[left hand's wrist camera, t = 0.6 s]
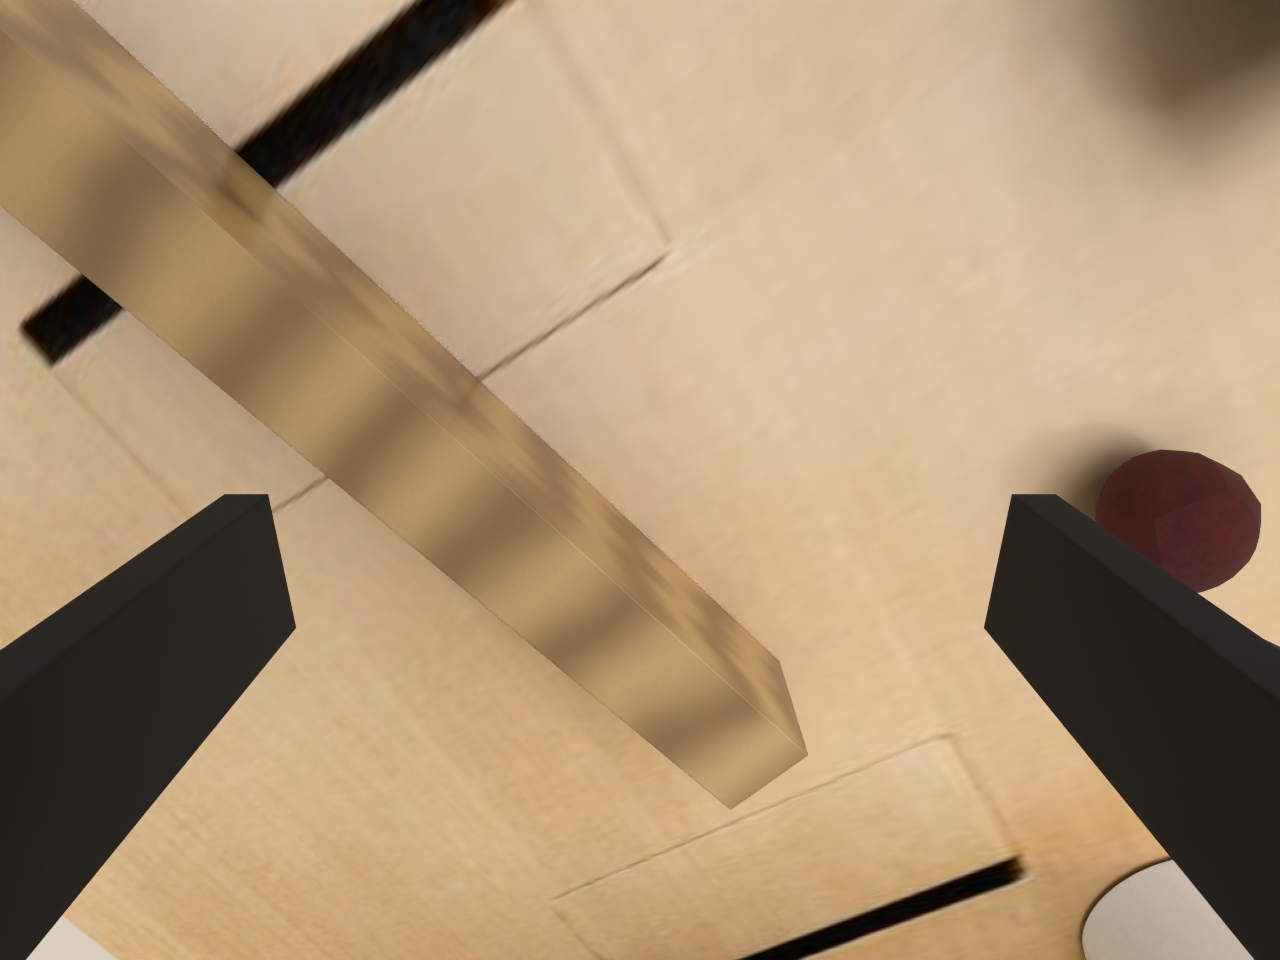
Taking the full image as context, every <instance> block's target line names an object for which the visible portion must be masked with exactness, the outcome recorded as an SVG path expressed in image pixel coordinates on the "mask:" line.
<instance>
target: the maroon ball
mask: <svg viewBox="0 0 1280 960" xmlns="http://www.w3.org/2000/svg"><path fill="white" fill-rule="evenodd" d="M1095 522H1096V523H1097V524H1099V525H1100V526H1102V527H1103V528H1104V529H1106V530H1107V531H1109V532H1110V533H1112V534H1113V535H1115V536H1116V537H1117V538H1119V539H1120V540H1122V541H1123V542H1125V543H1126V544H1127V545H1129V546H1130V547H1132V548H1133V549H1135V550H1136V551H1138V552H1139V553H1140V554H1142V555H1143V556H1145V557H1146V558H1148V559H1149V560H1150V561H1152V562H1153V563H1155V564H1156V565H1158V566H1159V567H1161V568H1162V569H1163V570H1165V571H1166V572H1168V573H1169V574H1171V575H1172V576H1173V577H1175V578H1176V579H1178V580H1179V581H1181V582H1182V583H1183V584H1185V585H1186V586H1188V587H1189V588H1191V589H1192V590H1194V591H1195V592H1196V593H1199V592H1203V591H1206V590H1209V589H1212V588H1214V587H1217V586H1219V585H1221V584H1223V583H1224V582H1226V581H1228V580H1229V579H1231V578H1233V577H1234V576H1235V575H1236V574H1237V573H1238V572H1239V571H1240V570H1241V569H1242V568H1243V567H1244V566H1245V565H1246V564H1247V563H1248V562H1249V560H1250V559H1251V557H1252V555H1253V553H1254V551H1255V550H1256V546H1257V543H1258V539H1259V534H1260V526H1261V504H1260V502H1259V501H1258V499H1257V498H1256V496H1255V495H1254V493H1253V492H1252V490H1251V489H1250V487H1249V486H1248V484H1247V483H1246V482H1245V480H1244V479H1243V477H1242V476H1241V475H1240V474H1238V473H1236V472H1234V471H1233V470H1231V469H1229V468H1227V467H1226V466H1224V465H1222V464H1220V463H1218V462H1216V461H1214V460H1212V459H1210V458H1207V457H1205V456H1203V455H1201V454H1199V453H1193V452H1187V451H1173V450H1157V451H1152V452H1149V453H1145V454H1142V455H1139V456H1136V457H1133V458H1131V459H1130V460H1128V461H1127V462H1125V463H1124V464H1123V465H1121V466H1120V467H1118V468H1117V469H1116V470H1115V472H1114V473H1113V474H1112V476H1111V477H1110V478H1109V479H1108V481H1107V482H1106V483H1105V486H1104V488H1103V491H1102V493H1101V495H1100V498H1099V500H1098V503H1097V507H1096V519H1095Z"/></svg>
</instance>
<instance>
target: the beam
mask: <svg viewBox="0 0 1280 960" xmlns="http://www.w3.org/2000/svg"><path fill="white" fill-rule="evenodd" d="M0 206H1V207H2V208H4V209H5V210H6V211H7V212H8V213H10V214H11V215H12V216H13V217H14V218H16V219H17V220H18V221H19V222H21V223H22V224H23V225H24V226H25V227H27V228H28V229H29V230H30V231H31V232H33V233H34V234H35V235H36V236H37V237H39V238H40V239H41V240H42V241H43V242H45V243H46V244H47V245H48V246H50V247H51V248H52V249H53V250H54V251H56V252H57V253H58V254H59V255H60V256H62V257H63V258H64V259H65V260H66V261H68V262H69V263H70V264H71V265H72V266H74V267H75V268H76V269H77V270H79V271H80V272H81V273H82V274H83V275H85V276H86V277H87V278H88V279H89V280H91V281H92V282H93V283H94V284H95V285H97V286H98V287H99V288H100V289H102V290H103V291H104V292H105V293H106V294H108V295H109V296H110V297H111V298H112V299H114V300H115V301H116V302H117V303H118V304H120V305H121V306H122V307H123V308H124V309H126V310H127V311H128V312H129V313H131V314H132V315H133V316H134V317H135V318H137V319H138V320H139V321H140V322H141V323H143V324H144V325H145V326H146V327H147V328H149V329H150V330H151V331H152V332H153V333H155V334H156V335H157V336H158V337H160V338H161V339H162V340H163V341H164V342H166V343H167V344H168V345H169V346H170V347H172V348H173V349H174V350H175V351H176V352H178V353H179V354H180V355H181V356H183V357H184V358H185V359H186V360H187V361H189V362H190V363H191V364H192V365H193V366H195V367H196V368H197V369H198V370H199V371H201V372H202V373H203V374H204V375H205V376H207V377H208V378H209V379H210V380H212V381H213V382H214V383H215V384H216V385H218V386H219V387H220V388H221V389H222V390H224V391H225V392H226V393H227V394H228V395H230V396H231V397H232V398H233V399H234V400H236V401H237V402H238V403H239V404H241V405H242V406H243V407H244V408H245V409H247V410H248V411H249V412H250V413H251V414H253V415H254V416H255V417H256V418H257V419H259V420H260V421H261V422H262V423H264V424H265V425H266V426H267V427H268V428H270V429H271V430H272V431H273V432H274V433H276V434H277V435H278V436H279V437H280V438H282V439H283V440H284V441H285V442H286V443H288V444H289V445H290V446H291V447H293V448H294V449H295V450H296V451H297V452H299V453H300V454H301V455H302V456H303V457H305V458H306V459H307V460H308V461H309V462H311V463H312V464H313V465H314V466H316V467H317V468H318V469H319V470H320V471H322V472H323V473H324V474H325V475H326V476H328V477H329V478H330V479H331V480H332V481H334V482H335V483H336V484H337V485H338V486H340V487H341V488H342V489H343V490H345V491H346V492H347V493H348V494H349V495H351V496H352V497H353V498H354V499H355V500H357V501H358V502H359V503H360V504H361V505H363V506H364V507H365V508H366V509H367V510H369V511H370V512H371V513H372V514H374V515H375V516H376V517H377V518H378V519H380V520H381V521H382V522H383V523H384V524H386V525H387V526H388V527H389V528H390V529H392V530H393V531H394V532H395V533H397V534H398V535H399V536H400V537H401V538H403V539H404V540H405V541H406V542H407V543H409V544H410V545H411V546H412V547H413V548H415V549H416V550H417V551H418V552H419V553H421V554H422V555H423V556H424V557H426V558H427V559H428V560H429V561H430V562H432V563H433V564H434V565H435V566H436V567H438V568H439V569H440V570H441V571H442V572H444V573H445V574H446V575H447V576H448V577H450V578H451V579H452V580H453V581H455V582H456V583H457V584H458V585H459V586H461V587H462V588H463V589H464V590H465V591H467V592H468V593H469V594H470V595H471V596H473V597H474V598H475V599H476V600H478V601H479V602H480V603H481V604H482V605H484V606H485V607H486V608H487V609H488V610H490V611H491V612H492V613H493V614H494V615H496V616H497V617H498V618H499V619H500V620H502V621H503V622H504V623H505V624H507V625H508V626H509V627H510V628H511V629H513V630H514V631H515V632H516V633H517V634H519V635H520V636H521V637H522V638H523V639H525V640H526V641H527V642H528V643H530V644H531V645H532V646H533V647H534V648H536V649H537V650H538V651H539V652H540V653H542V654H543V655H544V656H545V657H546V658H548V659H549V660H550V661H551V662H552V663H554V664H555V665H556V666H557V667H559V668H560V669H561V670H562V671H563V672H565V673H566V674H567V675H568V676H569V677H571V678H572V679H573V680H574V681H575V682H577V683H578V684H579V685H580V686H581V687H583V688H584V689H585V690H586V691H588V692H589V693H590V694H591V695H592V696H594V697H595V698H596V699H597V700H598V701H600V702H601V703H602V704H603V705H604V706H606V707H607V708H608V709H609V710H611V711H612V712H613V713H614V714H615V715H617V716H618V717H619V718H620V719H621V720H623V721H624V722H625V723H626V724H627V725H629V726H630V727H631V728H632V729H633V730H635V731H636V732H637V733H638V734H640V735H641V736H642V737H643V738H644V739H646V740H647V741H648V742H649V743H650V744H652V745H653V746H654V747H655V748H656V749H658V750H659V751H660V752H661V753H662V754H664V755H665V756H666V757H667V758H669V759H670V760H671V761H672V762H673V763H675V764H676V765H677V766H678V767H679V768H681V769H682V770H683V771H684V772H685V773H687V774H688V775H689V776H690V777H692V778H693V779H694V780H695V781H696V782H698V783H699V784H700V785H701V786H702V787H704V788H705V789H706V790H707V791H708V792H710V793H711V794H712V795H713V796H714V797H716V798H717V799H718V800H719V801H721V802H722V803H723V804H724V805H725V806H727V807H728V808H729V809H733V808H734V807H736V806H737V805H738V804H740V803H741V802H743V801H744V800H745V799H747V798H748V797H750V796H751V795H753V794H754V793H755V792H757V791H758V790H760V789H761V788H762V787H764V786H765V785H767V784H768V783H770V782H771V781H772V780H774V779H775V778H777V777H778V776H779V775H781V774H782V773H784V772H785V771H786V770H788V769H789V768H791V767H792V766H794V765H795V764H796V763H798V762H799V761H801V760H802V759H803V758H805V757H806V756H808V753H807V749H806V746H805V743H804V740H803V736H802V733H801V730H800V727H799V723H798V720H797V717H796V714H795V710H794V707H793V704H792V701H791V698H790V694H789V691H788V688H787V685H786V681H785V678H784V675H783V672H782V668H781V665H780V662H779V661H778V660H777V659H776V658H775V657H774V656H773V655H772V654H771V653H770V652H769V651H768V650H766V649H765V648H764V647H763V646H762V645H761V644H760V643H759V642H758V641H757V640H756V639H755V638H754V637H753V636H752V635H750V634H749V633H748V632H747V631H746V630H745V629H744V628H743V627H742V626H741V625H740V624H739V623H738V622H737V621H735V620H734V619H733V618H732V617H731V616H730V615H729V614H728V613H727V612H726V611H725V610H724V609H723V608H722V607H721V606H719V605H718V604H717V603H716V602H715V601H714V600H713V599H712V598H711V597H710V596H709V595H708V594H707V593H706V592H705V591H703V590H702V589H701V588H700V587H699V586H698V585H697V584H696V583H695V582H694V581H693V580H692V579H691V578H690V577H688V576H687V575H686V574H685V573H684V572H683V571H682V570H681V569H680V568H679V567H678V566H677V565H676V564H675V563H674V562H672V561H671V560H670V559H669V558H668V557H667V556H666V555H665V554H664V553H663V552H662V551H661V550H660V549H659V548H657V547H656V546H655V545H654V544H653V543H652V542H651V541H650V540H649V539H648V538H647V537H646V536H645V535H644V534H643V533H641V532H640V531H639V530H638V529H637V528H636V527H635V526H634V525H633V524H632V523H631V522H630V521H629V520H628V519H626V518H625V517H624V516H623V515H622V514H621V513H620V512H619V511H618V510H617V509H616V508H615V507H614V506H613V505H612V504H610V503H609V502H608V501H607V500H606V499H605V498H604V497H603V496H602V495H601V494H600V493H599V492H598V491H597V490H596V489H594V488H593V487H592V486H591V485H590V484H589V483H588V482H587V481H586V480H585V479H584V478H583V477H582V476H581V475H579V474H578V473H577V472H576V471H575V470H574V469H573V468H572V467H571V466H570V465H569V464H568V463H567V462H566V461H565V460H563V459H562V458H561V457H560V456H559V455H558V454H557V453H556V452H555V451H554V450H553V449H552V448H551V447H550V446H548V445H547V444H546V443H545V442H544V441H543V440H542V439H541V438H540V437H539V436H538V435H537V434H536V433H535V432H534V431H532V430H531V429H530V428H529V427H528V426H527V425H526V424H525V423H524V422H523V421H522V420H521V419H520V418H519V417H518V416H516V415H515V414H514V413H513V412H512V411H511V410H510V409H509V408H508V407H507V406H506V405H505V404H504V403H503V402H501V401H500V400H499V399H498V398H497V397H496V396H495V395H494V394H493V393H492V392H491V391H490V390H489V389H488V388H487V387H485V386H484V385H483V384H482V383H481V382H480V381H479V380H478V379H477V378H476V377H475V376H474V375H473V374H472V373H470V372H469V371H468V370H467V369H466V368H465V367H464V366H463V365H462V364H461V363H460V362H459V361H458V360H457V359H456V358H454V357H453V356H452V355H451V354H450V353H449V352H448V351H447V350H446V349H445V348H444V347H443V346H442V345H441V344H439V343H438V342H437V341H436V340H435V339H434V338H433V337H432V336H431V335H430V334H429V333H428V332H427V331H426V330H425V329H423V328H422V327H421V326H420V325H419V324H418V323H417V322H416V321H415V320H414V319H413V318H412V317H411V316H410V315H409V314H407V313H406V312H405V311H404V310H403V309H402V308H401V307H400V306H399V305H398V304H397V303H396V302H395V301H394V300H392V299H391V298H390V297H389V296H388V295H387V294H386V293H385V292H384V291H383V290H382V289H381V288H380V287H379V286H378V285H376V284H375V283H374V282H373V281H372V280H371V279H370V278H369V277H368V276H367V275H366V274H365V273H364V272H363V271H361V270H360V269H359V268H358V267H357V266H356V265H355V264H354V263H353V262H352V261H351V260H350V259H349V258H348V257H347V256H345V255H344V254H343V253H342V252H341V251H340V250H339V249H338V248H337V247H336V246H335V245H334V244H333V243H332V242H330V241H329V240H328V239H327V238H326V237H325V236H324V235H323V234H322V233H321V232H320V231H319V230H318V229H317V228H316V227H314V226H313V225H312V224H311V223H310V222H309V221H308V220H307V219H306V218H305V217H304V216H303V215H302V214H301V213H300V212H298V211H297V210H296V209H295V208H294V207H293V206H292V205H291V204H290V203H289V202H288V201H287V200H286V199H285V198H283V197H282V196H281V195H280V194H279V193H278V192H277V191H276V190H275V189H274V188H273V187H272V186H271V185H270V184H269V183H267V182H266V181H265V180H264V179H263V178H262V177H261V176H260V175H259V174H258V173H257V172H256V171H255V170H254V169H252V168H251V167H250V166H249V165H248V164H247V163H246V162H245V161H244V160H243V159H242V158H241V157H240V156H239V155H238V154H236V153H235V152H234V151H233V150H232V149H231V148H230V147H229V146H228V145H227V144H226V143H225V142H224V141H223V140H222V139H220V138H219V137H218V136H217V135H216V134H215V133H214V132H213V131H212V130H211V129H210V128H209V127H208V126H207V125H205V124H204V123H203V122H202V121H201V120H200V119H199V118H198V117H197V116H196V115H195V114H194V113H193V112H192V111H191V110H189V109H188V108H187V107H186V106H185V105H184V104H183V103H182V102H181V101H180V100H179V99H178V98H177V97H176V96H174V95H173V94H172V93H171V92H170V91H169V90H168V89H167V88H166V87H165V86H164V85H163V84H162V83H161V82H160V81H158V80H157V79H156V78H155V77H154V76H153V75H152V74H151V73H150V72H149V71H148V70H147V69H146V68H145V67H143V66H142V65H141V64H140V63H139V62H138V61H137V60H136V59H135V58H134V57H133V56H132V55H131V54H130V53H129V52H127V51H126V50H125V49H124V48H123V47H122V46H121V45H120V44H119V43H118V42H117V41H116V40H115V39H114V38H113V37H111V36H110V35H109V34H108V33H107V32H106V31H105V30H104V29H103V28H102V27H101V26H100V25H99V24H98V23H96V22H95V21H94V20H93V19H92V18H91V17H90V16H89V15H88V14H87V13H86V12H85V11H84V10H83V9H82V8H80V7H79V6H78V5H77V4H76V3H75V2H74V1H73V0H0Z"/></svg>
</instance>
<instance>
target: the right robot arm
mask: <svg viewBox="0 0 1280 960" xmlns="http://www.w3.org/2000/svg"><path fill="white" fill-rule="evenodd" d="M1082 945H1083V950H1084V954H1085V958H1086V960H1254V959H1253V958H1252V956H1251V955H1250V954H1249V953H1248V951H1247V950H1246V949H1245V948H1244V947H1243V945H1242V944H1241V943H1240V942H1239V940H1238V939H1237V938H1236V937H1235V936H1234V934H1233V933H1232V932H1231V931H1230V929H1229V928H1228V927H1227V926H1226V924H1225V923H1224V922H1223V921H1222V920H1221V918H1220V917H1219V916H1218V915H1217V913H1216V912H1215V911H1214V910H1213V909H1212V907H1211V906H1210V905H1209V904H1208V902H1207V901H1206V900H1205V899H1204V897H1203V896H1202V895H1201V894H1200V893H1199V891H1198V890H1197V889H1196V888H1195V886H1194V885H1193V884H1192V883H1191V881H1190V880H1189V879H1188V878H1187V877H1186V875H1185V874H1184V873H1183V872H1182V870H1181V869H1180V868H1179V867H1178V866H1177V864H1176V863H1175V862H1174V861H1173V860H1169V861H1166V862H1162V863H1159V864H1156V865H1154V866H1151V867H1149V868H1146V869H1144V870H1142V871H1140V872H1138V873H1136V874H1134V875H1132V876H1130V877H1129V878H1127V879H1125V880H1124V881H1122V882H1121V883H1119V884H1118V885H1116V886H1115V887H1114V888H1113V889H1111V890H1110V891H1109V892H1108V893H1107V894H1106V895H1105V896H1104V897H1103V898H1102V899H1101V900H1100V901H1099V902H1098V903H1097V904H1096V906H1095V907H1094V908H1093V910H1092V911H1091V913H1090V915H1089V917H1088V919H1087V921H1086V923H1085V926H1084V929H1083V935H1082Z"/></svg>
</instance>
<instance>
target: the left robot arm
mask: <svg viewBox="0 0 1280 960" xmlns="http://www.w3.org/2000/svg"><path fill="white" fill-rule="evenodd" d="M295 628H296V625H295V621H294V616H293V611H292V606H291V602H290V597H289V592H288V587H287V582H286V578H285V573H284V568H283V563H282V559H281V554H280V549H279V544H278V540H277V535H276V530H275V525H274V520H273V516H272V511H271V506H270V501H269V497H268V494H224V495H223V496H222V497H220V498H219V499H217V500H216V501H214V502H213V503H211V504H210V505H209V506H207V507H206V508H204V509H203V510H201V511H200V512H199V513H197V514H196V515H194V516H193V517H191V518H190V519H188V520H187V521H186V522H184V523H183V524H181V525H180V526H178V527H177V528H176V529H174V530H173V531H171V532H170V533H168V534H167V535H165V536H164V537H163V538H161V539H160V540H158V541H157V542H155V543H154V544H153V545H151V546H150V547H148V548H147V549H145V550H144V551H142V552H141V553H140V554H138V555H137V556H135V557H134V558H132V559H131V560H130V561H128V562H127V563H125V564H124V565H122V566H121V567H119V568H118V569H117V570H115V571H114V572H112V573H111V574H109V575H108V576H107V577H105V578H104V579H102V580H101V581H99V582H98V583H96V584H95V585H94V586H92V587H91V588H89V589H88V590H86V591H85V592H84V593H82V594H81V595H79V596H78V597H76V598H75V599H74V600H72V601H71V602H69V603H68V604H66V605H65V606H63V607H62V608H61V609H59V610H58V611H56V612H55V613H53V614H52V615H51V616H49V617H48V618H46V619H45V620H43V621H42V622H40V623H39V624H38V625H36V626H35V627H33V628H32V629H30V630H29V631H28V632H26V633H25V634H23V635H22V636H20V637H19V638H17V639H16V640H15V641H13V642H12V643H10V644H9V645H7V646H6V647H5V648H3V649H1V650H0V960H26V959H27V958H28V956H29V955H30V954H31V953H32V951H33V950H34V949H35V948H36V947H37V945H38V944H39V943H40V942H41V940H42V939H43V938H44V937H45V935H46V934H47V933H48V932H49V931H50V929H51V928H52V927H53V926H54V924H55V923H56V922H57V921H58V920H59V918H60V917H61V916H62V915H63V913H64V912H65V911H66V910H67V909H68V907H69V906H70V905H71V904H72V902H73V901H74V900H75V899H76V897H77V896H78V895H79V894H80V893H81V891H82V890H83V889H84V888H85V886H86V885H87V884H88V883H89V881H90V880H91V879H92V878H93V877H94V875H95V874H96V873H97V872H98V870H99V869H100V868H101V867H102V866H103V864H104V863H105V862H106V861H107V859H108V858H109V857H110V856H111V854H112V853H113V852H114V851H115V850H116V848H117V847H118V846H119V845H120V843H121V842H122V841H123V840H124V838H125V837H126V836H127V835H128V834H129V832H130V831H131V830H132V829H133V827H134V826H135V825H136V824H137V823H138V821H139V820H140V819H141V818H142V816H143V815H144V814H145V813H146V811H147V810H148V809H149V808H150V807H151V805H152V804H153V803H154V802H155V800H156V799H157V798H158V797H159V795H160V794H161V793H162V792H163V791H164V789H165V788H166V787H167V786H168V784H169V783H170V782H171V781H172V780H173V778H174V777H175V776H176V775H177V773H178V772H179V771H180V770H181V768H182V767H183V766H184V765H185V764H186V762H187V761H188V760H189V759H190V757H191V756H192V755H193V754H194V753H195V751H196V750H197V749H198V748H199V746H200V745H201V744H202V743H203V741H204V740H205V739H206V738H207V737H208V735H209V734H210V733H211V732H212V730H213V729H214V728H215V727H216V725H217V724H218V723H219V722H220V721H221V719H222V718H223V717H224V716H225V714H226V713H227V712H228V711H229V710H230V708H231V707H232V706H233V705H234V703H235V702H236V701H237V700H238V698H239V697H240V696H241V695H242V694H243V692H244V691H245V690H246V689H247V687H248V686H249V685H250V684H251V682H252V681H253V680H254V679H255V678H256V676H257V675H258V674H259V673H260V671H261V670H262V669H263V668H264V667H265V665H266V664H267V663H268V662H269V660H270V659H271V658H272V657H273V655H274V654H275V653H276V652H277V651H278V649H279V648H280V647H281V646H282V644H283V643H284V642H285V641H286V639H287V638H288V637H289V636H290V635H291V633H292V632H293V631H294V630H295ZM984 628H985V630H986V631H987V632H988V633H989V635H990V636H991V637H992V638H993V639H994V641H995V642H996V643H997V644H998V646H999V647H1000V648H1001V649H1002V651H1003V652H1004V653H1005V654H1006V655H1007V657H1008V658H1009V659H1010V660H1011V662H1012V663H1013V664H1014V665H1015V667H1016V668H1017V669H1018V670H1019V671H1020V673H1021V674H1022V675H1023V676H1024V678H1025V679H1026V680H1027V681H1028V682H1029V684H1030V685H1031V686H1032V687H1033V689H1034V690H1035V691H1036V692H1037V694H1038V695H1039V696H1040V697H1041V698H1042V700H1043V701H1044V702H1045V703H1046V705H1047V706H1048V707H1049V708H1050V710H1051V711H1052V712H1053V713H1054V714H1055V716H1056V717H1057V718H1058V719H1059V721H1060V722H1061V723H1062V724H1063V725H1064V727H1065V728H1066V729H1067V730H1068V732H1069V733H1070V734H1071V735H1072V737H1073V738H1074V739H1075V740H1076V741H1077V743H1078V744H1079V745H1080V746H1081V748H1082V749H1083V750H1084V751H1085V753H1086V754H1087V755H1088V756H1089V757H1090V759H1091V760H1092V761H1093V762H1094V764H1095V765H1096V766H1097V767H1098V768H1099V770H1100V771H1101V772H1102V773H1103V775H1104V776H1105V777H1106V778H1107V780H1108V781H1109V782H1110V783H1111V784H1112V786H1113V787H1114V788H1115V789H1116V791H1117V792H1118V793H1119V794H1120V795H1121V797H1122V798H1123V799H1124V800H1125V802H1126V803H1127V804H1128V805H1129V807H1130V808H1131V809H1132V810H1133V811H1134V813H1135V814H1136V815H1137V816H1138V818H1139V819H1140V820H1141V821H1142V823H1143V824H1144V825H1145V826H1146V827H1147V829H1148V830H1149V831H1150V832H1151V834H1152V835H1153V836H1154V837H1155V838H1156V840H1157V841H1158V842H1159V843H1160V845H1161V846H1162V847H1163V848H1164V850H1165V851H1166V852H1167V853H1168V854H1169V856H1170V857H1171V858H1172V859H1173V861H1174V862H1175V863H1176V864H1177V866H1178V867H1179V868H1180V869H1181V870H1182V872H1183V873H1184V874H1185V875H1186V877H1187V878H1188V879H1189V880H1190V881H1191V883H1192V884H1193V885H1194V886H1195V888H1196V889H1197V890H1198V891H1199V893H1200V894H1201V895H1202V896H1203V897H1204V899H1205V900H1206V901H1207V902H1208V904H1209V905H1210V906H1211V907H1212V909H1213V910H1214V911H1215V912H1216V913H1217V915H1218V916H1219V917H1220V918H1221V920H1222V921H1223V922H1224V923H1225V924H1226V926H1227V927H1228V928H1229V929H1230V931H1231V932H1232V933H1233V934H1234V936H1235V937H1236V938H1237V939H1238V940H1239V942H1240V943H1241V944H1242V945H1243V947H1244V948H1245V949H1246V950H1247V951H1248V953H1249V954H1250V955H1251V956H1252V958H1253V959H1254V960H1280V647H1279V646H1277V645H1275V644H1273V643H1271V642H1269V641H1266V640H1264V639H1263V638H1261V637H1260V636H1258V635H1257V634H1255V633H1254V632H1252V631H1251V630H1250V629H1248V628H1247V627H1245V626H1244V625H1242V624H1241V623H1240V622H1238V621H1237V620H1235V619H1234V618H1232V617H1231V616H1229V615H1228V614H1227V613H1225V612H1224V611H1222V610H1221V609H1219V608H1218V607H1217V606H1215V605H1214V604H1212V603H1211V602H1209V601H1208V600H1206V599H1205V598H1204V597H1202V596H1201V595H1199V594H1198V593H1196V592H1195V591H1194V590H1192V589H1191V588H1189V587H1188V586H1186V585H1185V584H1183V583H1182V582H1181V581H1179V580H1178V579H1176V578H1175V577H1173V576H1172V575H1171V574H1169V573H1168V572H1166V571H1165V570H1163V569H1162V568H1161V567H1159V566H1158V565H1156V564H1155V563H1153V562H1152V561H1150V560H1149V559H1148V558H1146V557H1145V556H1143V555H1142V554H1140V553H1139V552H1138V551H1136V550H1135V549H1133V548H1132V547H1130V546H1129V545H1127V544H1126V543H1125V542H1123V541H1122V540H1120V539H1119V538H1117V537H1116V536H1115V535H1113V534H1112V533H1110V532H1109V531H1107V530H1106V529H1104V528H1103V527H1102V526H1100V525H1099V524H1097V523H1096V522H1094V521H1093V520H1092V519H1090V518H1089V517H1087V516H1086V515H1084V514H1083V513H1081V512H1080V511H1079V510H1077V509H1076V508H1074V507H1073V506H1071V505H1070V504H1069V503H1067V502H1066V501H1064V500H1063V499H1061V498H1060V497H1058V496H1057V495H1056V494H1012V497H1011V501H1010V506H1009V511H1008V516H1007V520H1006V525H1005V530H1004V535H1003V540H1002V544H1001V549H1000V554H999V559H998V563H997V568H996V573H995V578H994V582H993V587H992V592H991V597H990V602H989V606H988V611H987V616H986V621H985V625H984Z"/></svg>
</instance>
